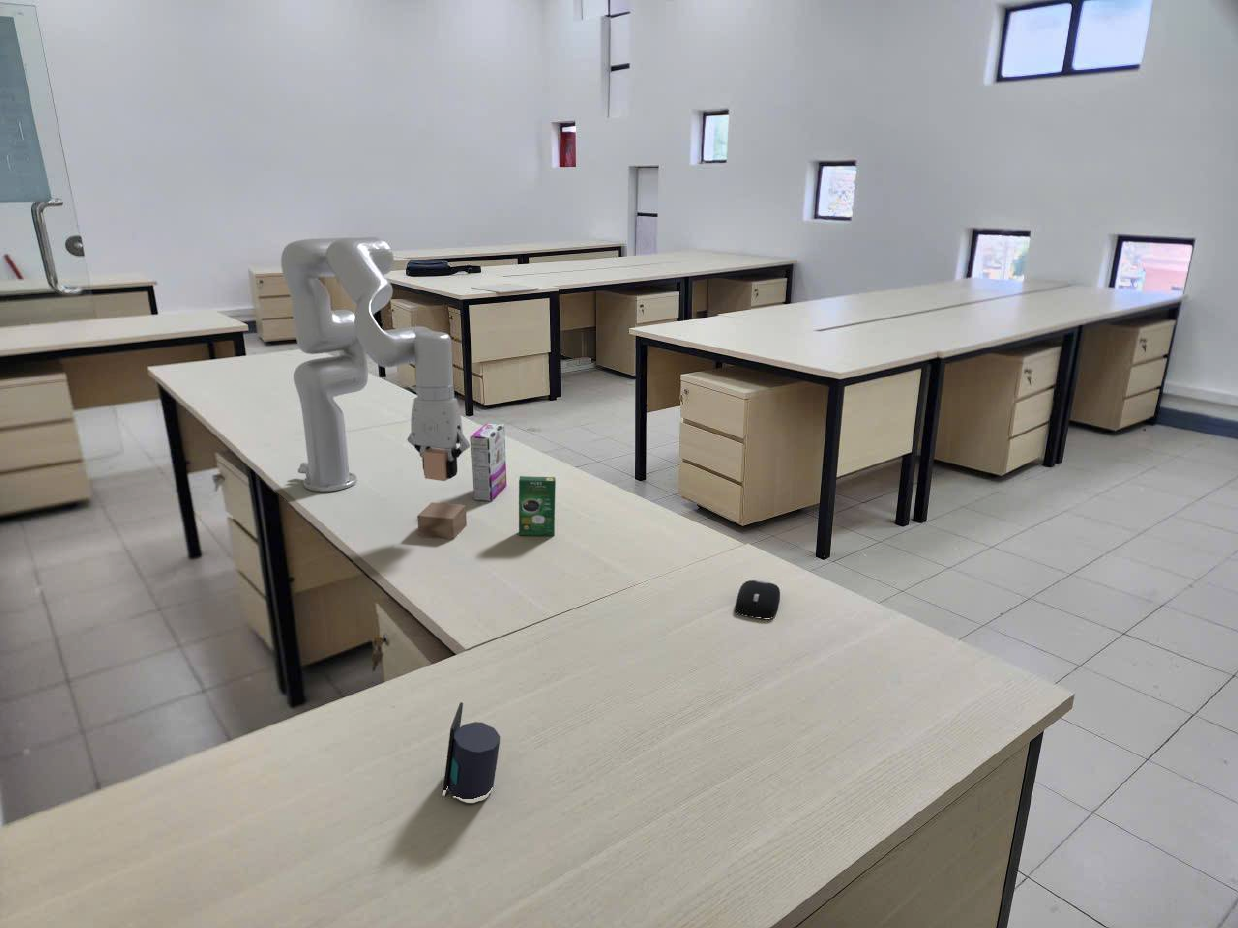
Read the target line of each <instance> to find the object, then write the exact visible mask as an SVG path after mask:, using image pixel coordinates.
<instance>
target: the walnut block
mask: <svg viewBox="0 0 1238 928" xmlns="http://www.w3.org/2000/svg"><path fill="white" fill-rule="evenodd" d="M416 517H417V518H416V520H417V533H418V537H423V538H431V539H433V538H434V539H443V540H455V539H456V538H457V537H458V536H457V535H460V533H462V531H464V529H465V528H466V527H467V525H468V524H467V523H468V521H467V506H466V505H465V504H456V503H454V504H453V503H445V502H433V501H432V502H430V503H429V504H428V505H427V506H425V508H424V509H422V511H421V512H420V513H418V515H417V516H416Z"/></svg>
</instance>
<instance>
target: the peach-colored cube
mask: <svg viewBox="0 0 1238 928" xmlns="http://www.w3.org/2000/svg"><path fill="white" fill-rule="evenodd" d="M423 458H424V470H423V474H424V473H425V475H424V479H426V480H434V481H440V482H447V480H449V479H448V478H447V473H446V461H447V460H448V458H447V454H446V451H445V449H442V448H434V447H431V448H429V449H427V450H425V451H423Z"/></svg>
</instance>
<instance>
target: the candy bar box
mask: <svg viewBox="0 0 1238 928" xmlns="http://www.w3.org/2000/svg"><path fill="white" fill-rule="evenodd" d="M470 453H471V455H470V457H471V469H472V470H471V472H472V473H471V474H472V489H473V500H474V501H480V502H481V501H482V502H493V501H494V500H495V499H496V498H497V497H498V496H499V494H501V492H502V491H503V490H504V489H505V488H506V487H507V470H506V469H507V467H506V442H505V424H503V423H502V424H500V423H492V422H491V423H489V422H488V423H485V424H484V425H483V426H481V427H480V428H479V429H477V430H476V431H475V432H474V433H473V434H471V435H470Z"/></svg>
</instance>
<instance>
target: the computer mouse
mask: <svg viewBox="0 0 1238 928" xmlns="http://www.w3.org/2000/svg"><path fill="white" fill-rule="evenodd" d="M780 600H781V589H780V588H779V586H778V585H777V584H776V583H772V582H768V581H763V580H757V579H751V580H746V581H744V582H743V583H742V584H741V586H740V588H739V590H738V592H737V596H736V601H735V612H736V613H737V612H738V613H740V614H743V615H747V616H753V617H761V618H771V617H773V616H774V617H775V615H776V613H777V611H778V608H779V605H780V602H781V601H780ZM738 613H737V614H738ZM740 614H739V615H740ZM774 614H775V615H774ZM743 615H742V616H743ZM747 616H746V617H747ZM753 617H752V618H753ZM774 617H773V618H774ZM771 619H772V618H771Z"/></svg>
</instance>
